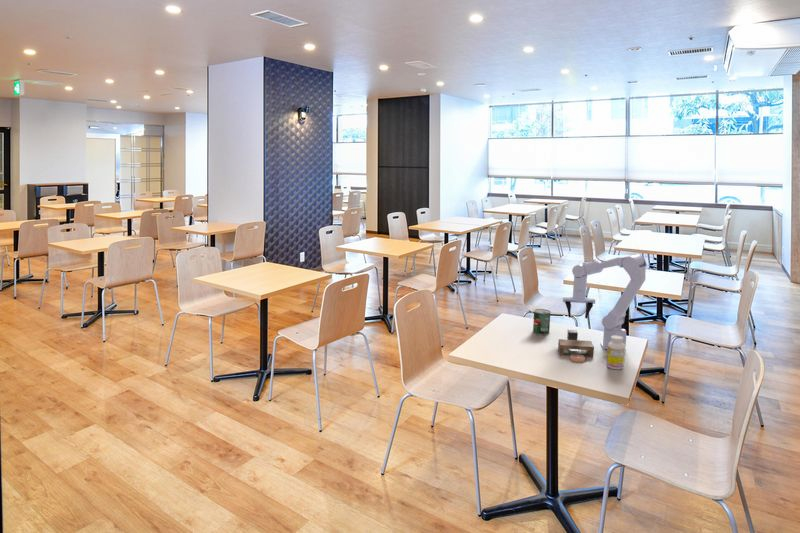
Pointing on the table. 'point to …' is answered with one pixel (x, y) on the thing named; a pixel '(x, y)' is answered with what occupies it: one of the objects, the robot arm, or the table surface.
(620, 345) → the supplement bottle
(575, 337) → the grey square prism
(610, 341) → the robot arm
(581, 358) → the coaster
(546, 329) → the canned tomato
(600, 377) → the table surface
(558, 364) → the table surface
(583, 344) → the bench
